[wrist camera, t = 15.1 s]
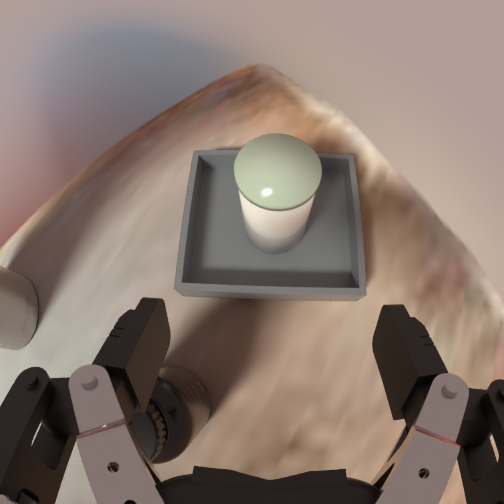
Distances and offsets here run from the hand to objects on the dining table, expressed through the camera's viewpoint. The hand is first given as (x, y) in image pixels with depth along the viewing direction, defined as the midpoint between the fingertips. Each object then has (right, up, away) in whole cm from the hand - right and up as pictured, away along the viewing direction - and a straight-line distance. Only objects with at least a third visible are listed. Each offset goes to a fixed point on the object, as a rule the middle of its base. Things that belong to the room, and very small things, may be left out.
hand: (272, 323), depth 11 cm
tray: (+1, +5, +19) cm, 20 cm away
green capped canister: (+1, +5, +18) cm, 19 cm away
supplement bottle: (-8, -11, +14) cm, 19 cm away
